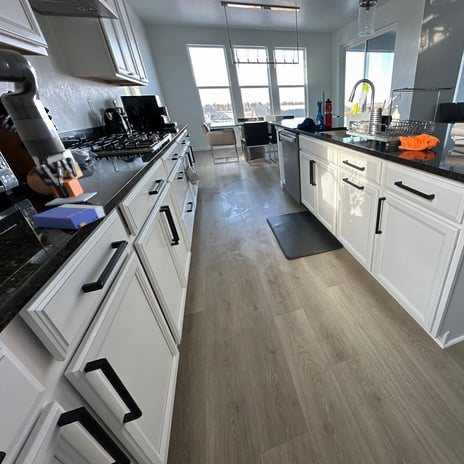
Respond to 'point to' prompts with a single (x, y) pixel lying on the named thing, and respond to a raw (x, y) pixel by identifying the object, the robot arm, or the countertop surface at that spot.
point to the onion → (39, 183)
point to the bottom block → (78, 170)
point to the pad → (72, 199)
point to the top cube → (71, 187)
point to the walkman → (69, 216)
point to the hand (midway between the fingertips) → (70, 194)
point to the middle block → (68, 154)
